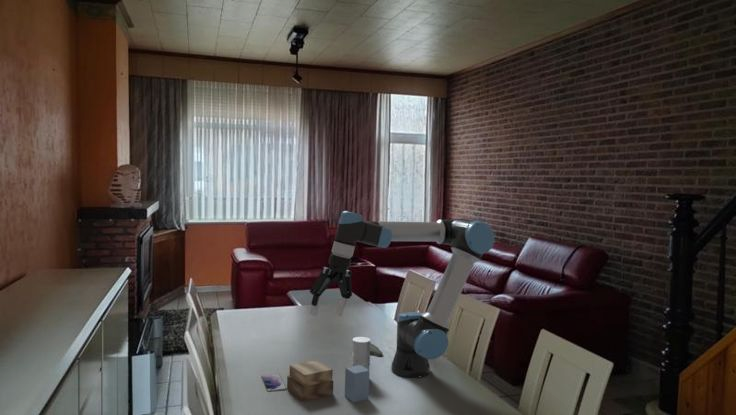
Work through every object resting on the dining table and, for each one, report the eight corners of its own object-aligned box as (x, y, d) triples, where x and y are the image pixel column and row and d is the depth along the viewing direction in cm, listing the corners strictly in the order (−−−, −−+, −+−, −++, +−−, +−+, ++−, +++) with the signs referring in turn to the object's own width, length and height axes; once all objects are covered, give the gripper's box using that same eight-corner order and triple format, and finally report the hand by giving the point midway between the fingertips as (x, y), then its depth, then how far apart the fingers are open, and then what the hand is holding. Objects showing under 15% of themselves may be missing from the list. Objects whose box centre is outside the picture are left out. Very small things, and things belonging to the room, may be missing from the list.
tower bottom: (317, 383, 194) (317, 370, 193) (333, 395, 184) (333, 381, 183) (287, 389, 187) (287, 375, 187) (301, 402, 177) (301, 387, 177)
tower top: (316, 370, 193) (317, 360, 193) (332, 380, 184) (332, 369, 184) (289, 376, 186) (289, 365, 186) (304, 386, 177) (304, 375, 177)
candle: (368, 375, 202) (370, 336, 202) (369, 382, 195) (371, 342, 195) (350, 375, 202) (352, 336, 201) (351, 382, 195) (352, 342, 194)
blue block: (359, 392, 186) (360, 364, 185) (368, 399, 181) (369, 370, 180) (344, 396, 183) (345, 367, 182) (353, 402, 178) (354, 373, 177)
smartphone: (267, 391, 184) (260, 375, 198) (266, 393, 184) (260, 377, 198) (287, 388, 186) (279, 373, 200) (287, 391, 186) (279, 375, 200)
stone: (389, 351, 226) (369, 353, 221) (388, 358, 227) (368, 360, 222) (369, 338, 241) (350, 340, 236) (368, 345, 241) (349, 347, 236)
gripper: (354, 256, 195) (340, 312, 195) (309, 249, 175) (293, 311, 175) (370, 261, 191) (355, 318, 190) (326, 254, 171) (309, 318, 170)
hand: (326, 315), depth 183 cm, fingers open, 13 cm apart
